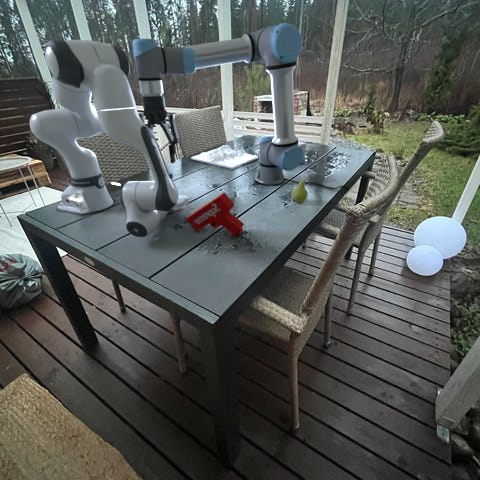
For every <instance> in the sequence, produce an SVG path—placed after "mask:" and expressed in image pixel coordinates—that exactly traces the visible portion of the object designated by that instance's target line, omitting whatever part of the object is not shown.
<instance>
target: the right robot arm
mask: <svg viewBox="0 0 480 480" xmlns="http://www.w3.org/2000/svg"><path fill="white" fill-rule="evenodd" d="M302 38H303V37H302V35H301V32H300V30H299V28H297V27H296V25H294V24H293V23H289V22H280V23H278V24H274V25H271V26H266V27H263V28H260V29H258V30H255V31H252V32H249V33H244V34H242V36H241V37H238V38H232V39H231V38H230V39H225V40H218V41H213V42H205V43H200V44H199V43H198V44H192V45H186V46H180V47H179V46H176V47H175V46H174V47H173V46H171V47H165V46H164V47H162V46H158V43H157V40H156V39H154V38H136V39H133V40H132V42H131V45H132V52H133V59H134V65H135V69H136V74H137V80H138V86H139V92H140V95H142V96H141V103H142V107H143V112H140V113H139V112H138V115H139V117H140V119H141V120H142V122H143V123H144V125H145V126H146V127H148V128H150V129H151V130H152V132H153V131H154V126H155V125H157V126H160V128H161V130H162V131H163V133H164V135H165V137H166V139H167V141H168V143H169V144H168V153H169V160H170V164H174V163H176V157H175V156H176V155H175V154H177V146H176V145H177V144H179V143H180V142H181V139H180V136H179V131H178V127H177V123H176V114H175V113H169V112H168V111H167V110H166V101H165V100H166V99H165V96H164V95H163V94H164V86H163V79H162V75H193V74H195V73H196V70H199V69H205V68H211V67H217V66H222V65H227V64H234V63H239V62H245V63H246V64H251V63H265V67H266V68H265V69H266V72H267V73H268V74H269V75H270V83H271V84H270V87H271V98H272V99H271V100H272V115H273V127H274V134H266V135H262V136H260V138H259V143H258V145H259V153H258V156H259V158H258V167H257V171H256V172H255V173H254V175H255V178H254V181H255V183H258V184H259V185H262V186H263V185H264V186H279V185H281V184H283V183H284V181H286V182H291V183H295V184H299V183H300V182H301V181H296V180H292V179H288V178H285V175H284V172H283V171H286V172H292V171H294V170H296V169H297V168H298V167H300V166H299V165H301V164H302V163H301V162H302V160H303V150H302V149H301V147H299V146H298V143H299V137H298V136H297V135H296V133H295V104H294V103H295V99H294V70H295V69H296V67H297V66H298V65H297V60H298V58H299V56H300V54H301V52H302V48H303V39H302ZM145 120H147V123H146V122H145ZM167 120H168V122H169V126H170V128H169V126H168V123H167ZM153 133H154V132H153ZM305 184H311V185H312V184H313V185H318V186H321V187H323V188H326V189H331V190H336V189H338V188H334V186H333V187H332V186H327V185H324V184H322V183H319V182H313V181H305ZM338 187H340V188H345V189H346V190H349V188H348V186H346V185H339V186H338Z"/></svg>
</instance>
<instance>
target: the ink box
mask: <svg viewBox="0 0 480 480" xmlns="http://www.w3.org/2000/svg"><path fill="white" fill-rule="evenodd" d="M307 144H308V143H307V142H303V141H298V146H299V147H301V149H302V150H303V160H302V161H303V162H301V164H303V163H305V161H306V154H307V153H306V152H307V146H308V145H307ZM304 160H305V161H304Z"/></svg>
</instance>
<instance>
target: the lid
mask: <svg viewBox="0 0 480 480" xmlns="http://www.w3.org/2000/svg"><path fill="white" fill-rule="evenodd" d="M168 172H169V175H170V177H171V179H172V180H173V178H174V176H173V172H172V171H170V170H168Z"/></svg>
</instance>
